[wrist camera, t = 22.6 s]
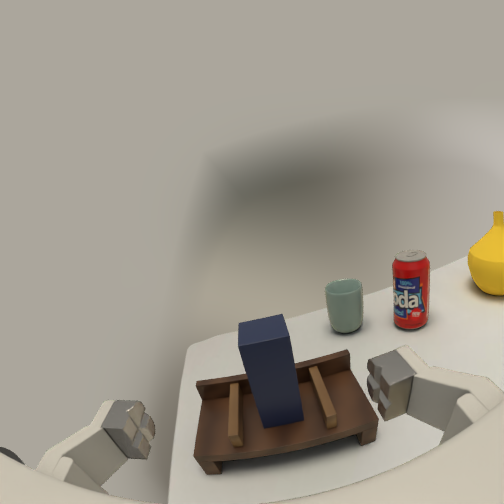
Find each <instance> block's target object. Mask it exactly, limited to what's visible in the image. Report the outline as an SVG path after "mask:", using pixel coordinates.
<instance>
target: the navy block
mask: <svg viewBox="0 0 504 504" xmlns="http://www.w3.org/2000/svg"><path fill="white" fill-rule="evenodd" d="M238 348H239V351H240V355H241V358H242V361H243V365H244V368H245V371H246V374H247V378H248V381H249V384H250V387H251V391H252V394H253V397H254V400H255V403H256V406H257V409H258V412H259V415H260V419H261V422H262V425H263V428H264V429H265V428H270V427H276V426H281V425H286V424H291V423H295V422H300V421H304V415H303V409H302V403H301V397H300V391H299V385H298V380H297V374H296V368H295V363H294V357H293V352H292V346H291V341H290V336H289V333H288V329H287V326H286V323H285V320H284V317H283V314H280V315H275V316H270V317H266V318H262V319H256V320H252V321H247V322H242V323H239V329H238Z"/></svg>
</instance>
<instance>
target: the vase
mask: <svg viewBox="0 0 504 504" xmlns="http://www.w3.org/2000/svg"><path fill="white" fill-rule="evenodd" d="M493 216H494V224H493V226H492V228H491V230H490V231H489V232H488V233H486V234H485V236H484V237H482V239H480V240H479V241H478V242H477V243H476V244H475V245H473V246H472V247H471V248H470V251H469V254H468V266H469V269H470V272H471V276H472V278H473V280H474V282H475V283H476V285H477V286H478V287H479V288H480V289H481V290H482V291H484V292H485V293H487V294H491V295H504V219H503V212H501V211H496V212H493Z"/></svg>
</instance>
